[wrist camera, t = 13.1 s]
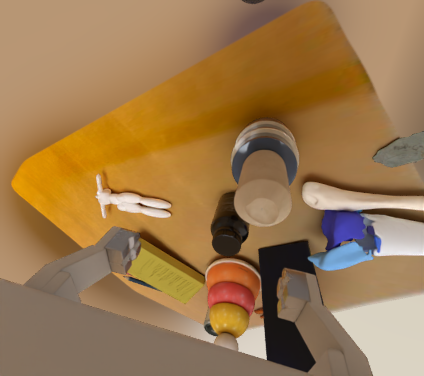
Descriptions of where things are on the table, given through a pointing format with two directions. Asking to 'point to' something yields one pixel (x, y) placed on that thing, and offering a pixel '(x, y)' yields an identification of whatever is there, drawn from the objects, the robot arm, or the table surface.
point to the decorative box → (274, 326)
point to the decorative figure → (131, 202)
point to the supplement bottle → (228, 227)
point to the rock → (402, 151)
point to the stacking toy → (231, 298)
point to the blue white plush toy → (362, 226)
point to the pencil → (140, 282)
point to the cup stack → (265, 145)
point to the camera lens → (209, 324)
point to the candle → (263, 190)
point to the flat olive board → (166, 273)
